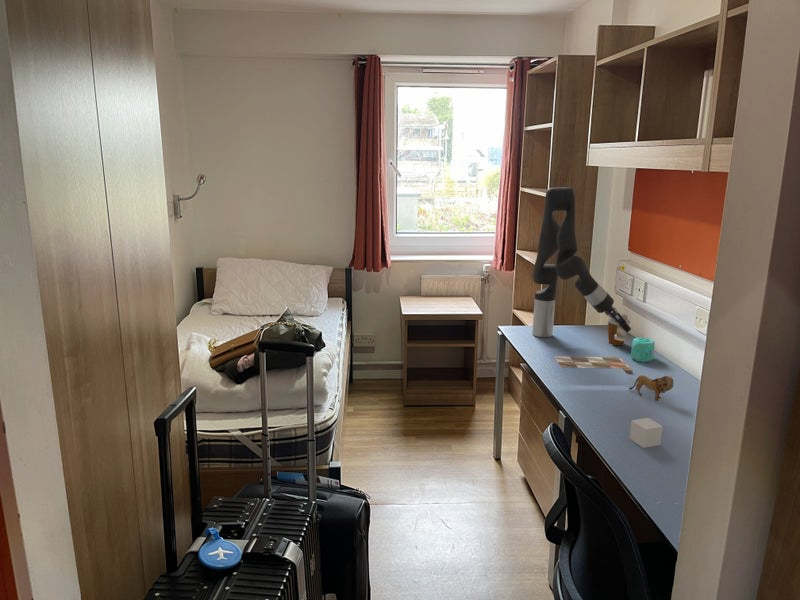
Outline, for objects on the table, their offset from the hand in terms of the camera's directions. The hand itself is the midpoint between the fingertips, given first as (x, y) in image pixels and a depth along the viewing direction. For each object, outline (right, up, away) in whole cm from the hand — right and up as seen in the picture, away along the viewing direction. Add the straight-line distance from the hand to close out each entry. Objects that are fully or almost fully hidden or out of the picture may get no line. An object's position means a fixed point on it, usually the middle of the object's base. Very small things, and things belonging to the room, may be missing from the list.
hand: (626, 328), depth 226 cm
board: (-12, -15, +7) cm, 20 cm away
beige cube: (-16, -31, -54) cm, 64 cm away
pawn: (-2, -4, +1) cm, 5 cm away
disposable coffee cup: (+8, -9, +34) cm, 36 cm away
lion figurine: (0, -23, -21) cm, 31 cm away
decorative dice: (+12, -13, +16) cm, 24 cm away
